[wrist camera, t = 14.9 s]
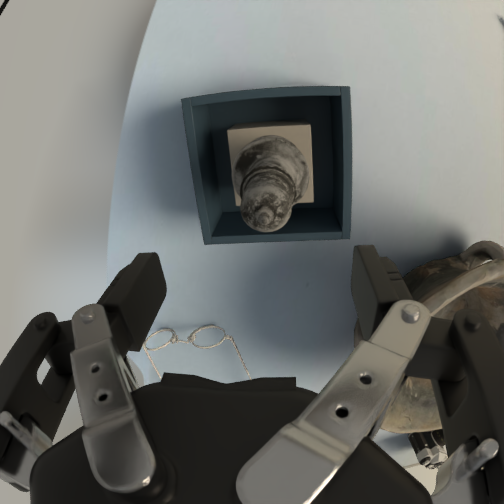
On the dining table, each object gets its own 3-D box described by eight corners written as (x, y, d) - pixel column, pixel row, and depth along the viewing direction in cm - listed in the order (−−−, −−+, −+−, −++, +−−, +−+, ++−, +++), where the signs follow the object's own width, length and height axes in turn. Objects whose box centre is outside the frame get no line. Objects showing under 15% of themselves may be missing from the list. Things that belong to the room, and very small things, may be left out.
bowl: (459, 157, 28) (541, 207, 15) (521, 284, 35) (566, 346, 22) (299, 297, 40) (301, 393, 27) (399, 377, 47) (417, 449, 34)
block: (242, 189, 32) (235, 206, 28) (235, 123, 29) (226, 130, 25) (309, 185, 32) (313, 202, 27) (306, 119, 28) (310, 124, 24)
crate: (217, 216, 35) (204, 244, 29) (201, 96, 29) (180, 98, 23) (338, 211, 33) (350, 239, 28) (336, 86, 27) (350, 86, 21)
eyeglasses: (237, 316, 42) (232, 342, 38) (264, 392, 51) (262, 415, 47) (139, 324, 46) (128, 346, 41) (182, 394, 54) (176, 415, 50)
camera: (456, 424, 59) (470, 449, 50) (425, 447, 62) (437, 474, 52) (437, 412, 55) (453, 442, 46) (402, 438, 58) (415, 469, 49)
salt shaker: (304, 198, 27) (316, 274, 17) (238, 195, 28) (209, 268, 17) (308, 133, 24) (327, 168, 14) (237, 130, 25) (202, 164, 14)
